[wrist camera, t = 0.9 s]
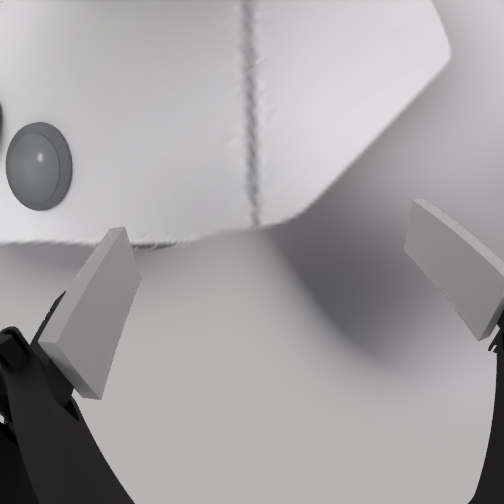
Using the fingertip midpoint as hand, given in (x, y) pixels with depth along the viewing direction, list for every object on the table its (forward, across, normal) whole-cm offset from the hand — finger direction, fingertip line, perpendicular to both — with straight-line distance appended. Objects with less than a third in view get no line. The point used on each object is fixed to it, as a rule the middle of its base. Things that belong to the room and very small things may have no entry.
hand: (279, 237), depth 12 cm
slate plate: (+26, -32, +3) cm, 41 cm away
